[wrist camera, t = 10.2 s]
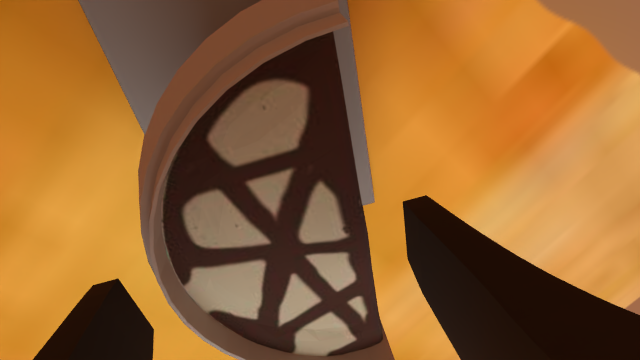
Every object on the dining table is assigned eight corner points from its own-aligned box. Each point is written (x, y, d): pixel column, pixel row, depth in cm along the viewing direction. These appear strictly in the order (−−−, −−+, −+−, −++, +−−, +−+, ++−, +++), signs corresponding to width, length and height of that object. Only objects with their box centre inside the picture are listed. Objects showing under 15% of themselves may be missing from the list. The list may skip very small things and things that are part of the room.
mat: (201, 244, 22) (201, 248, 22) (66, -32, 14) (63, -31, 14) (372, 198, 23) (374, 202, 23) (332, -93, 15) (334, -93, 15)
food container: (121, -11, 15) (-17, 75, 7) (282, -48, 15) (343, -12, 7) (226, 232, 22) (223, 422, 13) (334, 203, 22) (397, 372, 14)
